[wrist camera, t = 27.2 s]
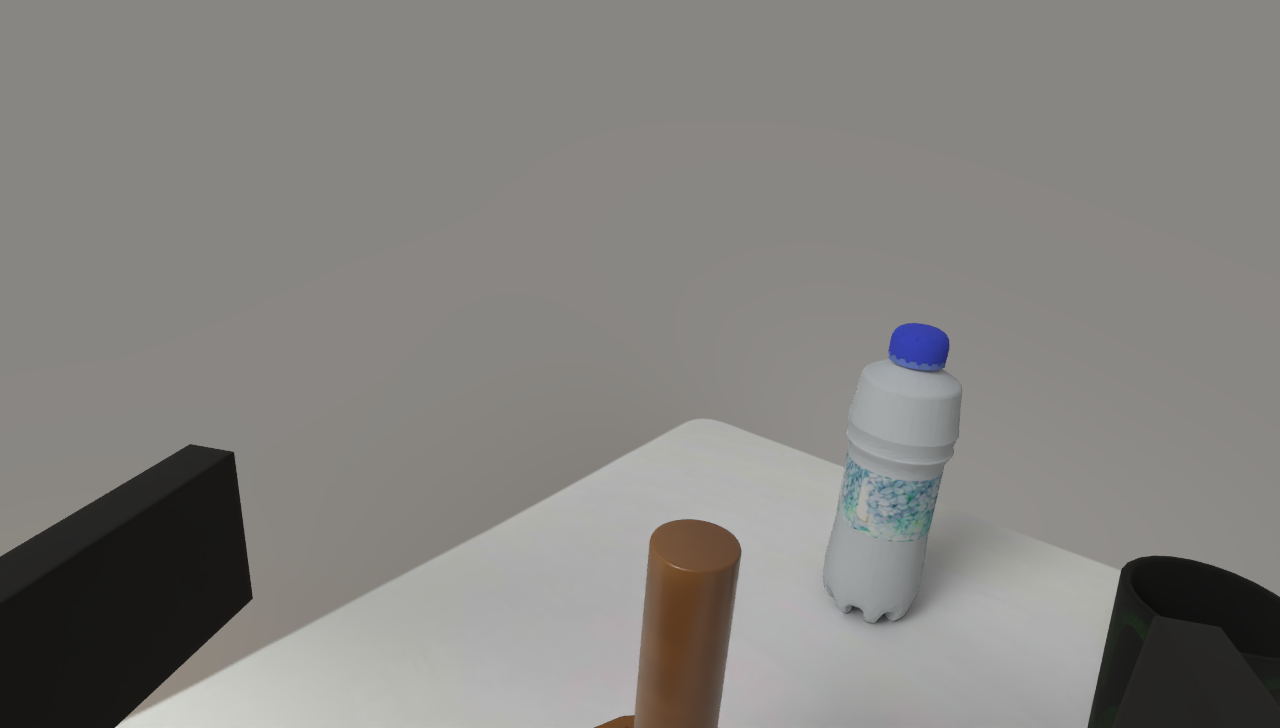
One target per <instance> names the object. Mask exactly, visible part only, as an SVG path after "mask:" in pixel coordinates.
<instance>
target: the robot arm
mask: <svg viewBox="0 0 1280 728" xmlns="http://www.w3.org/2000/svg"><path fill="white" fill-rule="evenodd" d="M252 599H253V597H252V589H251V581H250V574H249V565H248V558H247V550H246V542H245V535H244V527H243V519H242V511H241V503H240V495H239V488H238V480H237V472H236V465H235V457H234V452H231V451H225V450H220V449H214V448H208V447H203V446H197V445H191V444H190V445H188V446H186V447H185V448H183V449H181V450H180V451H178V452H176V453H175V454H173V455H171V456H170V457H168V458H166V459H165V460H163V461H161V462H160V463H158V464H156V465H154V466H153V467H151V468H149V469H148V470H146V471H144V472H143V473H141V474H139V475H137V476H136V477H134V478H132V479H131V480H129V481H127V482H126V483H124V484H122V485H121V486H119V487H117V488H116V489H114V490H112V491H111V492H109V493H107V494H105V495H104V496H102V497H100V498H99V499H97V500H95V501H94V502H92V503H90V504H89V505H87V506H85V507H83V508H82V509H80V510H78V511H77V512H75V513H73V514H72V515H70V516H68V517H67V518H65V519H63V520H61V521H60V522H58V523H56V524H55V525H53V526H51V527H50V528H48V529H46V530H45V531H43V532H41V533H40V534H38V535H36V536H34V537H33V538H31V539H29V540H28V541H26V542H24V543H23V544H21V545H19V546H18V547H16V548H14V549H12V550H11V551H9V552H7V553H6V554H4V555H2V556H1V557H0V728H115V727H116V726H117V725H118V724H119V723H120V722H121V721H122V720H123V719H125V718H126V717H127V716H128V715H129V714H130V713H131V712H132V711H133V710H134V709H135V708H136V707H137V706H138V705H140V704H141V703H142V701H144V700H145V699H146V698H147V697H148V696H149V695H150V694H151V693H152V692H153V691H154V690H156V689H157V688H158V687H159V686H160V685H161V684H162V683H163V682H164V681H165V680H166V679H167V678H168V677H169V676H170V675H172V673H174V672H175V671H176V670H177V669H178V668H179V667H180V666H181V665H182V664H183V663H184V662H185V661H187V659H189V658H190V657H191V656H192V655H193V654H194V653H195V652H196V651H197V650H198V649H199V648H200V647H202V645H204V644H205V643H206V642H207V641H208V640H209V639H210V638H211V637H212V636H213V635H214V634H215V633H216V632H218V631H219V630H220V629H221V628H222V627H223V626H224V625H225V624H226V623H227V622H228V621H229V620H230V619H231V618H232V617H234V616H235V615H236V614H237V613H238V612H239V611H240V610H241V609H242V608H243V607H244V606H245V605H246V604H247V603H248V602H250V600H252ZM1111 728H1280V706H1279V705H1278V704H1277V702H1276V701H1275V700H1274V698H1273V697H1272V696H1271V694H1270V693H1269V691H1268V690H1267V689H1266V687H1265V686H1264V685H1263V683H1262V682H1261V681H1260V679H1259V678H1258V677H1257V675H1256V674H1255V673H1254V671H1253V670H1252V669H1251V667H1250V666H1249V665H1248V663H1247V662H1246V661H1245V659H1244V658H1243V657H1242V655H1241V654H1240V653H1239V651H1238V650H1237V649H1236V647H1235V646H1234V645H1233V643H1232V642H1231V641H1230V639H1229V638H1228V637H1227V635H1226V634H1225V633H1224V631H1223V630H1222V629H1221V627H1217V626H1211V625H1206V624H1200V623H1194V622H1189V621H1183V620H1178V619H1172V618H1166V617H1161V616H1155V615H1154V618H1153V620H1152V623H1151V625H1150V628H1149V631H1148V633H1147V636H1146V638H1145V641H1144V644H1143V646H1142V649H1141V652H1140V654H1139V657H1138V659H1137V662H1136V665H1135V667H1134V670H1133V672H1132V675H1131V678H1130V680H1129V683H1128V685H1127V688H1126V691H1125V693H1124V696H1123V699H1122V701H1121V704H1120V706H1119V709H1118V712H1117V714H1116V717H1115V719H1114V722H1113V725H1112V727H1111Z"/></svg>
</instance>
